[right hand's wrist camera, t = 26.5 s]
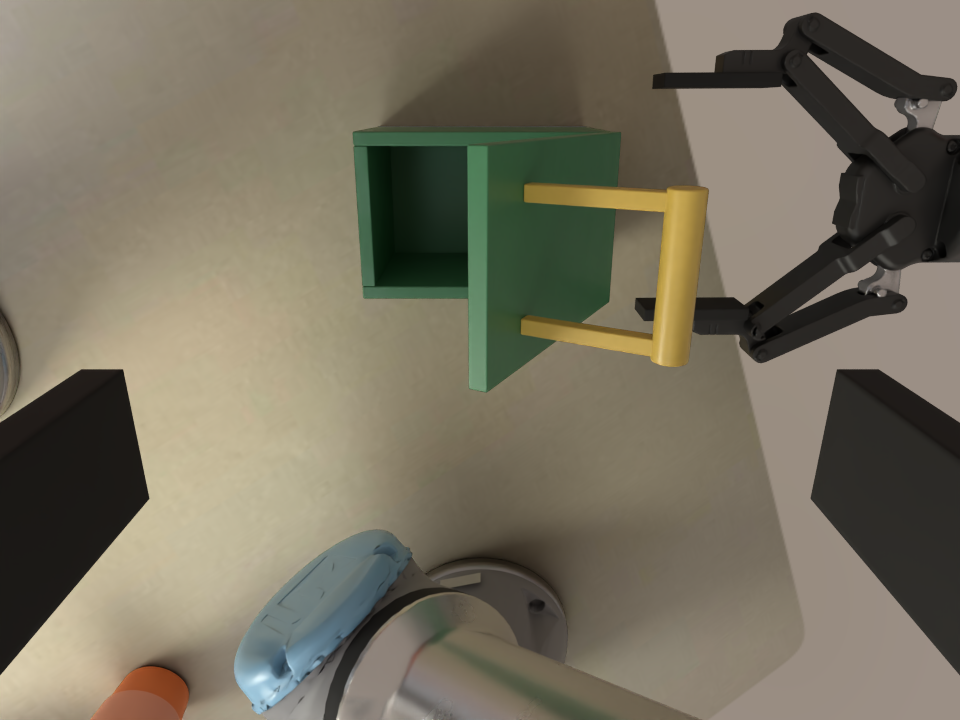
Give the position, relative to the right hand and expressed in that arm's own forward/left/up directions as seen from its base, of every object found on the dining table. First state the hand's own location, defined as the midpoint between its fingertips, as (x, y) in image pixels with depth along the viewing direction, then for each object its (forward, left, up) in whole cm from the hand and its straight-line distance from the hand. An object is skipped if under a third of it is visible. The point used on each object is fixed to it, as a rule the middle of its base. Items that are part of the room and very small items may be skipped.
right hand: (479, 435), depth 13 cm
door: (+1, -3, -19) cm, 20 cm away
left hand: (+2, -10, -30) cm, 32 cm away
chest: (0, 0, -36) cm, 37 cm away
